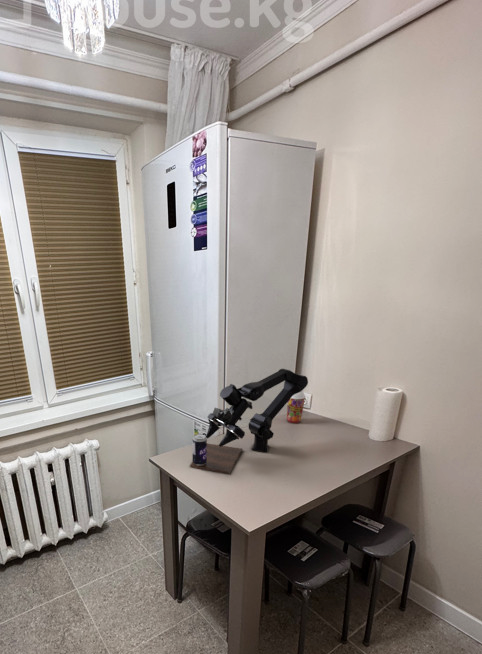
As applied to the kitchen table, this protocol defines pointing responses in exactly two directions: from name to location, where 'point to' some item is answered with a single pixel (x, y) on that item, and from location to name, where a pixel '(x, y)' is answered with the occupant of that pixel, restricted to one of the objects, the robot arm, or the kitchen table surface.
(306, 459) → the kitchen table surface
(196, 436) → the beverage can
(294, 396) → the smoothie
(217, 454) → the board
